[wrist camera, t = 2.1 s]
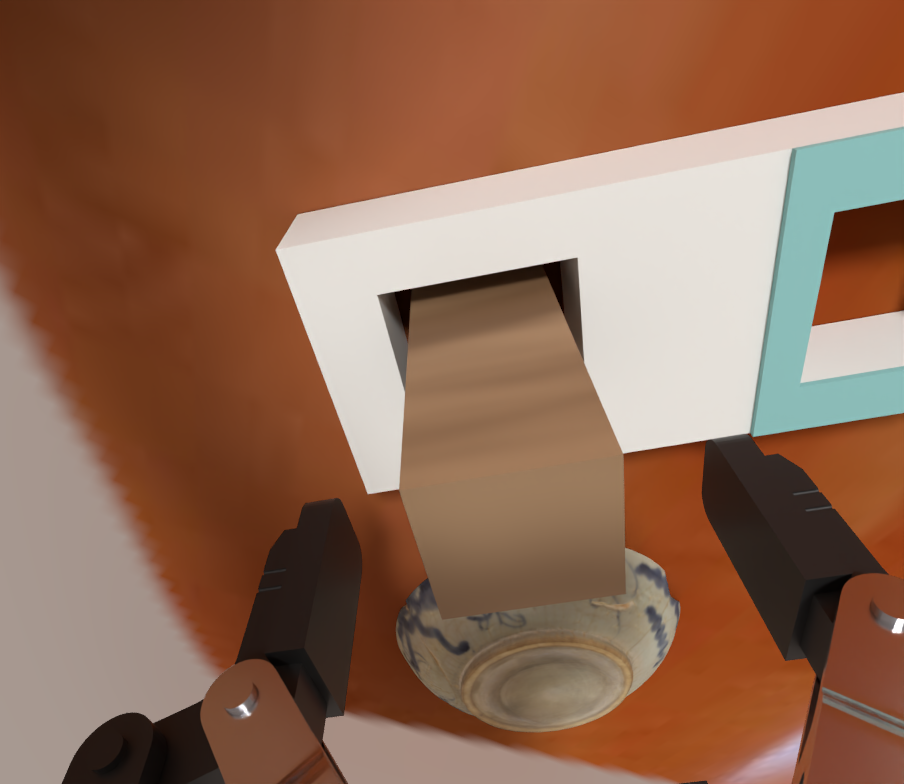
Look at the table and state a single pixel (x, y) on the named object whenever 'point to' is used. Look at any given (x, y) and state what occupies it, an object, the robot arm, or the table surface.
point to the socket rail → (631, 279)
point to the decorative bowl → (543, 652)
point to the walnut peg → (507, 450)
